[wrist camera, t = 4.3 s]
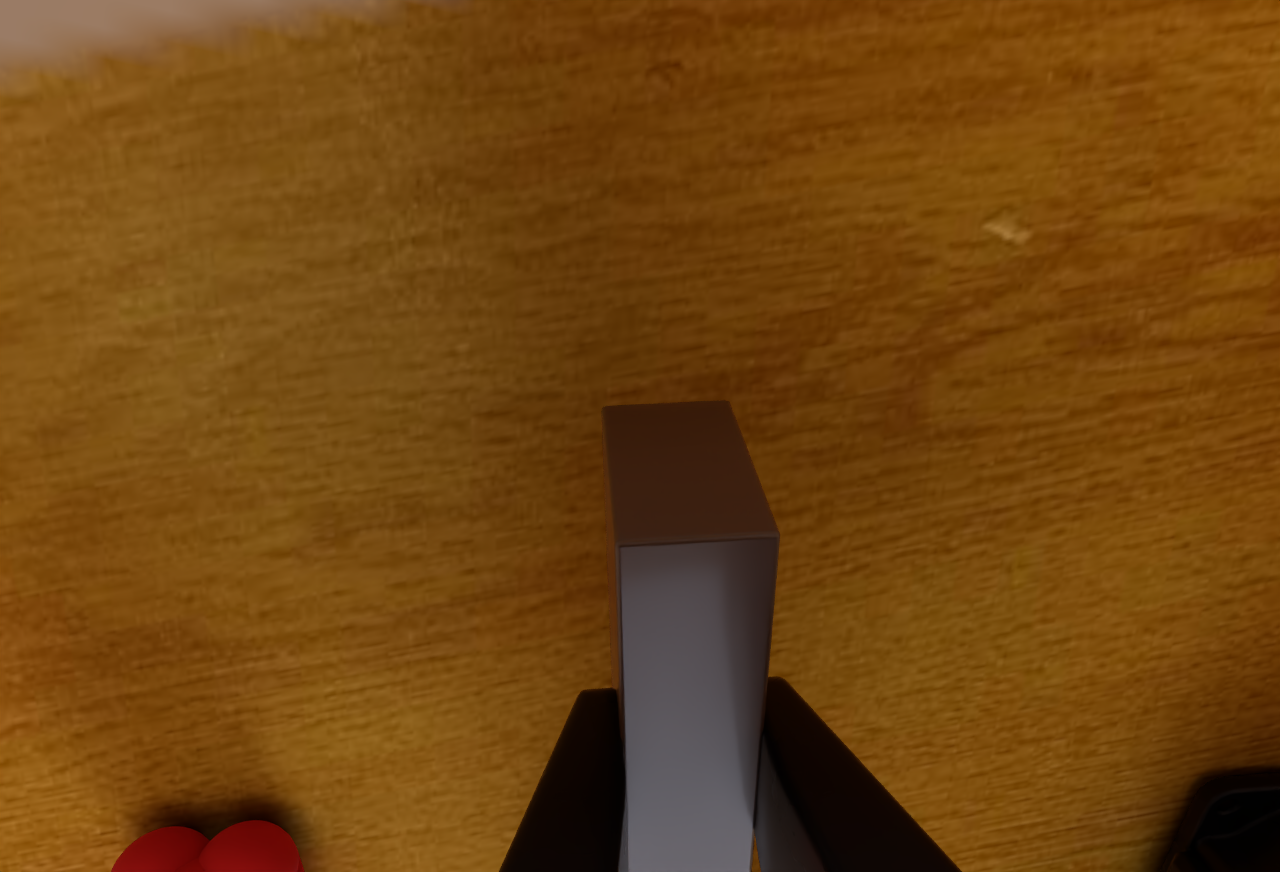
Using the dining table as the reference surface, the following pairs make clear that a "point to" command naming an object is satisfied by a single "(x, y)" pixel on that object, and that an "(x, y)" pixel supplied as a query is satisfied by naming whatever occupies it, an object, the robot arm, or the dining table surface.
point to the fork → (688, 629)
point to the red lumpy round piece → (213, 850)
